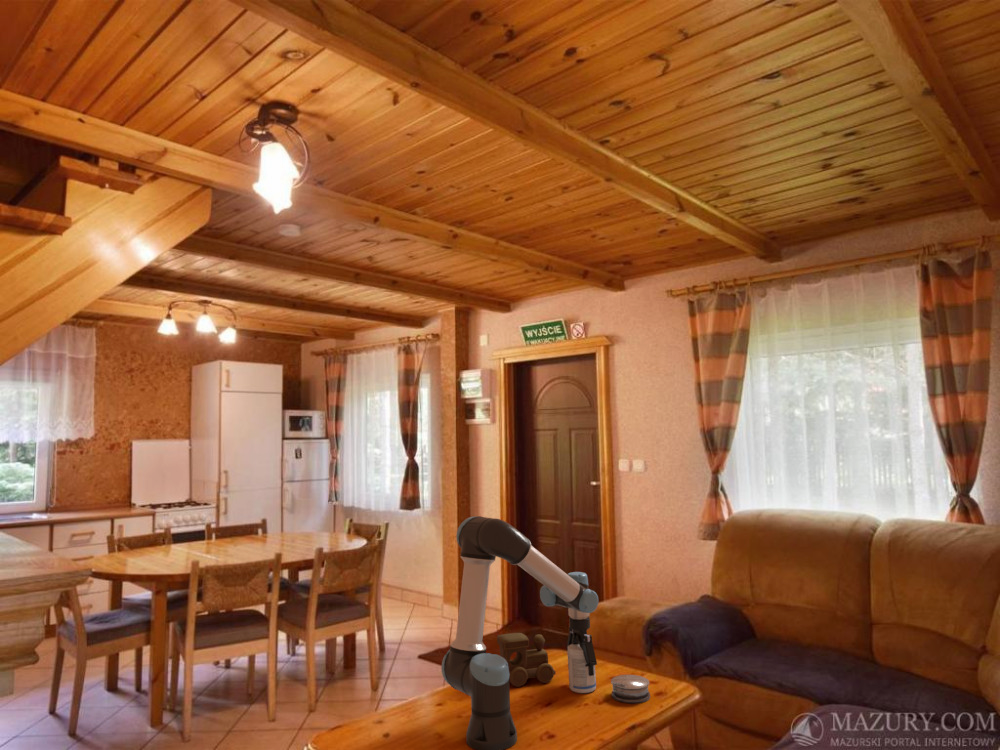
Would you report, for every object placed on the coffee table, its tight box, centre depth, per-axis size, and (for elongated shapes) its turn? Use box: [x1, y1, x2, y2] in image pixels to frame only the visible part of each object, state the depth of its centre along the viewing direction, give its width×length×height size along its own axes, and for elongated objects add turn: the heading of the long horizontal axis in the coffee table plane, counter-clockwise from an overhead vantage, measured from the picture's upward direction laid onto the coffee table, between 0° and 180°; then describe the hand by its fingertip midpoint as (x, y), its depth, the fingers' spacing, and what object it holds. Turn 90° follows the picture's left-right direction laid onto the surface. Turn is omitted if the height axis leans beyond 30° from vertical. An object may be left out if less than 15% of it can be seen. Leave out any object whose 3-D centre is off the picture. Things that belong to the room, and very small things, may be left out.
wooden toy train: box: [496, 632, 557, 688], centre depth 246 cm, size 20×11×17 cm, turn 106°
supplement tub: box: [566, 644, 597, 694], centre depth 235 cm, size 10×10×15 cm
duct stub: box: [610, 674, 651, 705], centre depth 227 cm, size 13×13×5 cm
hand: (582, 678), depth 235 cm, fingers open, 12 cm apart
